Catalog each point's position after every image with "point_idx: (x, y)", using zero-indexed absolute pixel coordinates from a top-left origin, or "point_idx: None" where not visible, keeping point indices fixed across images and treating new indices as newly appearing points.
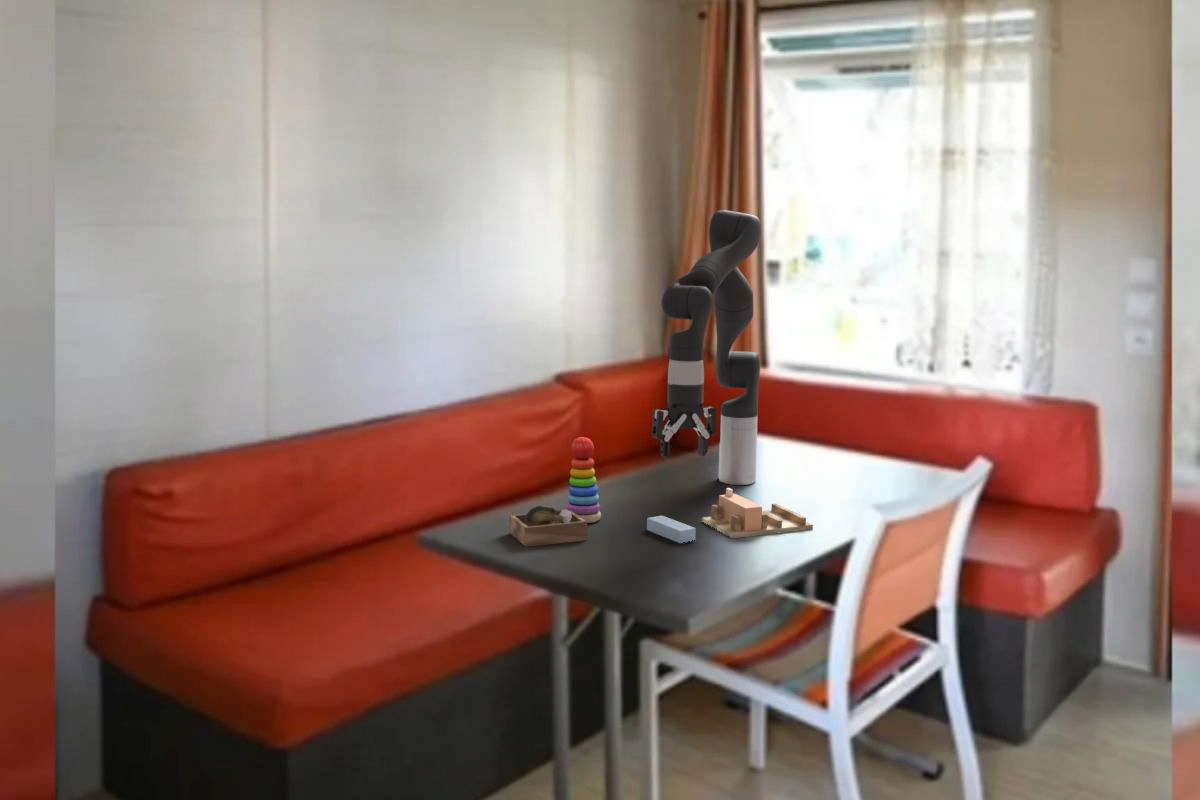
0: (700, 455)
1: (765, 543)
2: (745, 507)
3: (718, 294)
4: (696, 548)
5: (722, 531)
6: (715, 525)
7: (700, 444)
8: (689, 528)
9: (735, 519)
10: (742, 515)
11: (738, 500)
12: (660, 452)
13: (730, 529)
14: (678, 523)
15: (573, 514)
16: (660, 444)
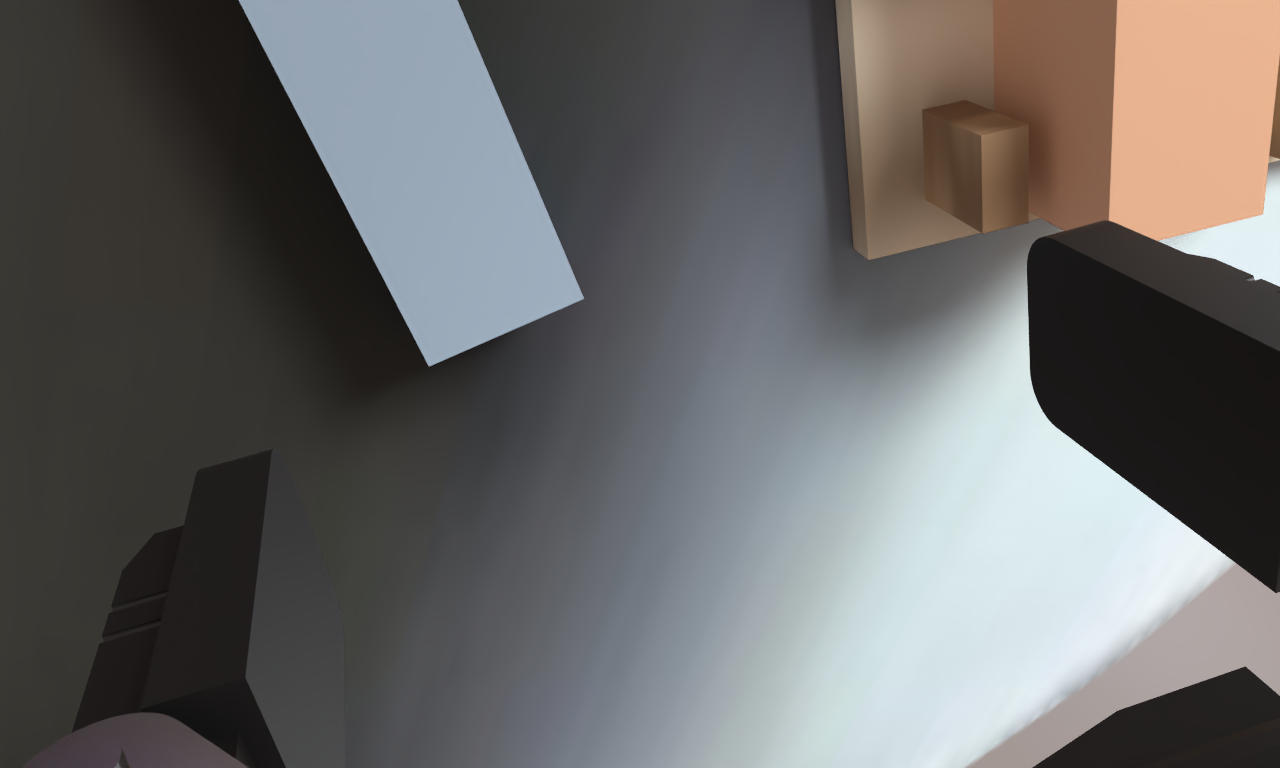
0: (1030, 328)
1: (1015, 385)
2: None
3: None
4: (515, 457)
5: (848, 98)
6: None
7: (1176, 405)
8: (527, 302)
9: (972, 212)
10: (1061, 176)
11: None
12: (124, 594)
13: (909, 134)
14: (466, 124)
15: None
16: (81, 709)
